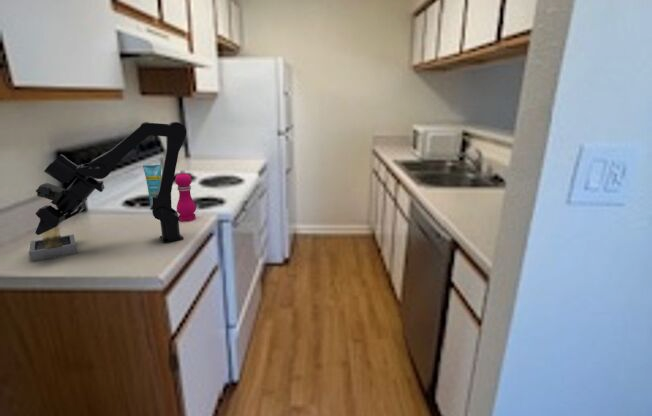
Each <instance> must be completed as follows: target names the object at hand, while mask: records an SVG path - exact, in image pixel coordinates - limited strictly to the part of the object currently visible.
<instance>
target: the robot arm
mask: <svg viewBox="0 0 652 416" xmlns="http://www.w3.org/2000/svg"><path fill="white" fill-rule="evenodd" d="M149 136H155V137H156V136H157V137H165V138H166V139H165V141H166V142H165V145H166V148H165V150H166V151H165V156H164V160H163V166H162V169H161V181H160V187H159V190H158V193H157V195H155V194H152V202H151V204H150V203H149V208H150V211H152V216H153V218H155V219H156V220H159V221H160V222H159V223H160V230H161V235H159V239H160V240H161V242H162V243H171V242H176V241H180V240H184V237H183V236H182V235H181V230H180V220H179V213H178V212H177V210H175V209H174V208H173V207H172V189H173V184H174V181H175V173H176V169H177V163H178V158H179V153H180V151H181V148H182V147H183V144H184V142H185V140H186V137H187V127H185V125H184V124H183V123H181V122H178V121H171V122H168V123H157V122H149V121H143V122H142V123H141V124H140V125H139V126H138V127H137V128H136V129H135V130H134V131H132V132H131V133H130V134H129V135H128V136H126V137H124V139H123V140H122V141H120V142H119V143H118V144H116V145H115V146H114V147H113V148H112V149H110V150H108V151H107V152H104V153H102V154H101V155H99V156H97V157H95V158H94V159H92V160H91V161H90V162H87V163H84V164H83V163H81V164H78V165H77V164H76V163H75V162H72V161H71V160H70V159H68V158H67V157H66V156H65V155H64V154H59V155H58V156H57V157H56V158H55V160H53V161H52V162H51V163H49V164H48V165H47V167H45V169H44V170H43V173H44V174H47V175H48V176H50V177H51V178H53V179H55V180H57V181H58V182H60V183H61V184H64V183H65V184H66V183H68V184H70V185H69V186H68V187H67V188H63V187H60V186H57V185H55V184H52V183H50V182H49V183H48V182H46V183H42V184H40V185H39V186H38V188H37V189H35V192H36V196H37V197H39V198H44V199H47V200H49V201H50V200H51V202H50V203H51V204H50V205H49V204H48V205H45V206H42V207H39V209H38V210H37V211H36V212H35V215H36V216H37V217H38V219H39V218H40V221H39V223H38V225H37V227H36V230H35V234H36V235H37V236H39V235H42V233H44V232H46V231H48V230H51V229H53V228H55V227H57V226H60V225H61V224H62V223H63V222H64V221H66V220H68V219H70V218H72V217H74V216H76V215H78V214H80V213H81V212H82V211H83V210H84V209H85V208H86V203H85V202H86V201H88V198H89V196H90V195H91V194H93V192H94V191H95V190H97V191H98V192H99V193H102V192H103V191H104V190H105V186H104V185H105V184H104V181H103V179H105V178H107V177H108V175H110V174H111V173H112V171H113V170H114V168H115V167H116V166H117V165H118V163H120V161H121V159H123V158H124V157H125V156H127V155H128V154H129V153H130V152H131V151H132V150H134V149H135V148H136V147H137V146H138V145H140V144H141V143H142V142H143V141H144V140H146V139H147V138H148V137H149ZM75 177H76V178H75ZM74 178H75V179H74ZM73 179H74V180H73ZM72 180H73V181H72ZM71 181H72V183H70V182H71ZM52 205H54V206H55V207H56V208H55V207H54V206H52Z"/></svg>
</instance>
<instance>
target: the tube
mask: <svg viewBox="0 0 652 416" xmlns="http://www.w3.org/2000/svg"><path fill="white" fill-rule="evenodd" d="M142 168H143V172H144V176H145V182H146V185H147V186H146V187H147V190H148V197H149V205H150V204H151V202H152V194H155V195H157V193H158V190H159V187H160V181H161V176H162V164H151V165H150V164H149V165H146V164H145V165H144V164H143V165H142Z"/></svg>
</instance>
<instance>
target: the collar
mask: <svg viewBox="0 0 652 416" xmlns="http://www.w3.org/2000/svg"><path fill="white" fill-rule="evenodd" d="M60 236H61V235H60ZM61 241H62V246H57V247H51V248H45V245H44V240H43V238H42V239H36V240H31V241H30V243H29V252H28V254H29V256H30V261H31V262H30V263H33V262H32V261H34V262H39V260H40V261H43V260H45V261H46V260H49V259H50V258H51V259H55V258H60V257H66V256H71V255H77V254H78V250H77V243H76V238H75V234H67V235H62V236H61Z"/></svg>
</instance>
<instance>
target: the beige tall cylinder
mask: <svg viewBox="0 0 652 416" xmlns="http://www.w3.org/2000/svg"><path fill="white" fill-rule="evenodd" d="M38 220H39V222H40V218H39V217H38ZM59 226H60V225H59ZM59 226H57V227H55V228H53V229H51V230H48V231H46V232H44V233H42V234H41V235H42V239H43V240H44V245H45V248H51V247H57V246H62V241H61V232H60V227H59Z"/></svg>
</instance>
